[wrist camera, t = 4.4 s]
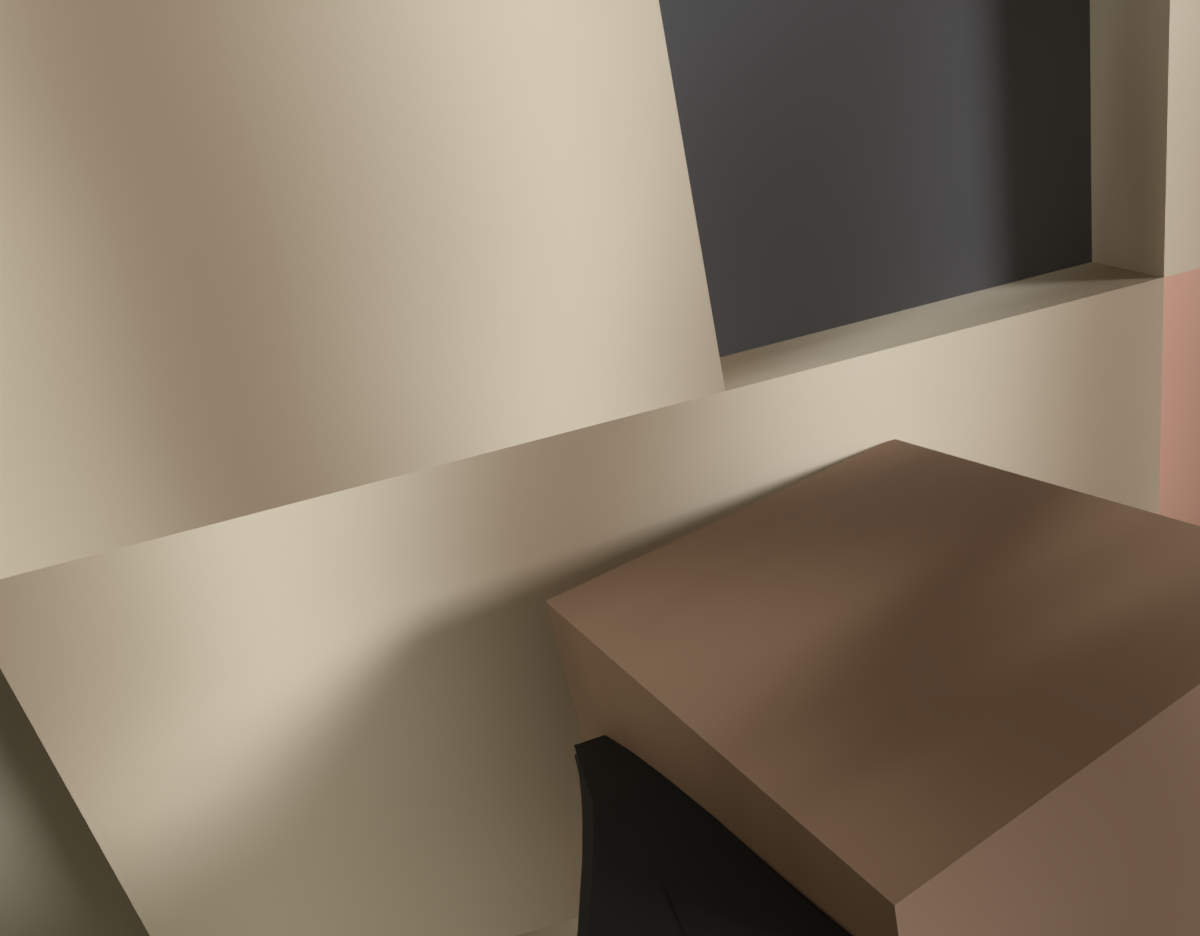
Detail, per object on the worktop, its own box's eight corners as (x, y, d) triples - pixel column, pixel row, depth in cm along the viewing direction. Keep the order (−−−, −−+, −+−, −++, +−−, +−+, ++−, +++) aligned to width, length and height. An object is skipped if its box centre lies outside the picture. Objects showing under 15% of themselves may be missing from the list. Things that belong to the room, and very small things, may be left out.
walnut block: (892, 438, 10) (1356, 571, 6) (925, 749, 12) (1310, 1000, 8) (545, 601, 9) (895, 905, 5) (639, 936, 10) (954, 1357, 6)
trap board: (1606, -451, 9) (1978, -636, 7) (1396, 865, 16) (1551, 986, 14) (-279, -57, 8) (-564, -127, 6) (359, 1188, 15) (343, 1379, 13)
